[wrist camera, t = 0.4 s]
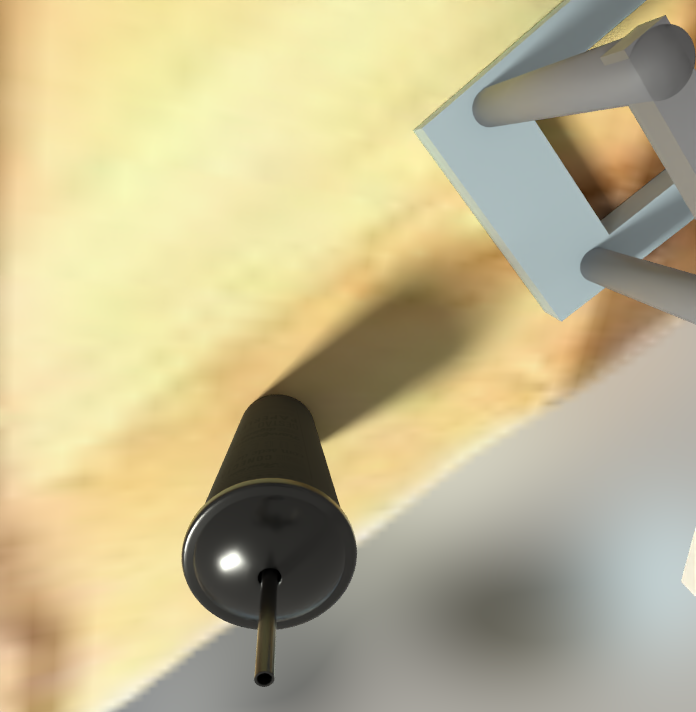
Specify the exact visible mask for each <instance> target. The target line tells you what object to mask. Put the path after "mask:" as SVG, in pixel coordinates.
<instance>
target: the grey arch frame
mask: <svg viewBox="0 0 696 712" xmlns="http://www.w3.org/2000/svg"><path fill="white" fill-rule="evenodd" d="M645 1H646V0H564V1H563V2H561V3H560V4H559V5H558V6H557V7H556V8H555V9H553V10H552V11H551V12H550V13H549V14H548V15H546V16H545V17H544V18H543V19H542V20H541V21H539V22H538V23H537V24H536V25H535V26H534V27H532V28H531V29H530V30H529V31H528V32H527V33H526V34H524V35H523V36H522V37H521V38H520V39H519V40H517V41H516V42H515V43H514V44H513V45H512V46H510V47H509V48H508V49H507V50H506V51H505V52H504V53H502V54H501V55H500V56H499V57H498V58H497V59H495V60H494V61H493V62H492V63H491V64H490V65H488V66H487V67H486V68H485V69H484V70H483V71H481V72H480V73H479V74H478V75H477V76H476V77H475V78H473V79H472V80H471V81H470V82H469V83H468V84H466V85H465V86H464V87H463V88H462V89H461V90H459V91H458V92H457V93H456V94H455V95H454V96H452V97H451V98H450V99H449V100H448V101H447V102H446V103H444V104H443V105H442V106H441V107H440V108H439V109H437V110H436V111H435V112H434V113H433V114H432V115H430V116H429V117H428V118H427V119H426V120H425V121H424V122H422V123H421V124H420V125H419V126H418V127H417V128H415V129H414V130H413V131H414V133H415V134H416V135H417V137H418V138H419V140H420V141H421V142H422V144H423V145H424V146H425V148H426V149H427V151H428V152H429V153H430V155H431V156H432V157H433V159H434V160H435V161H436V163H437V164H438V166H439V167H440V168H441V170H442V171H443V172H444V174H445V175H446V177H447V178H448V179H449V181H450V182H451V183H452V185H453V186H454V188H455V189H456V190H457V192H458V193H459V194H460V196H461V197H462V199H463V200H464V201H465V203H466V204H467V205H468V207H469V208H470V210H471V211H472V212H473V214H474V215H475V216H476V218H477V219H478V221H479V222H480V223H481V225H482V226H483V227H484V229H485V230H486V232H487V233H488V234H489V236H490V237H491V238H492V240H493V241H494V243H495V244H496V245H497V247H498V248H499V249H500V251H501V252H502V254H503V255H504V256H505V258H506V259H507V260H508V262H509V263H510V265H511V266H512V267H513V269H514V270H515V271H516V273H517V274H518V276H519V277H520V278H521V280H522V281H523V282H524V284H525V285H526V287H527V288H528V289H529V291H530V292H531V293H532V295H533V296H534V298H535V299H536V300H537V302H538V303H539V304H540V306H541V307H542V309H543V310H544V311H545V312H546V313H548V314H550V315H551V316H553V317H555V318H556V319H558V320H560V321H561V322H562V321H563V320H564V319H565V318H567V317H568V316H569V315H571V314H572V313H573V312H574V311H576V310H577V309H578V308H580V307H581V306H582V305H583V304H585V303H586V302H587V301H589V300H590V299H591V298H592V297H594V296H595V295H596V294H598V293H599V292H600V291H601V290H603V289H604V288H608V289H610V290H613V291H615V292H617V293H620V294H622V295H625V296H627V297H630V298H632V299H635V300H637V301H639V302H642V303H644V304H647V305H649V306H652V307H654V308H657V309H659V310H662V311H664V312H666V313H669V314H671V315H674V316H676V317H679V318H681V319H684V320H686V321H688V322H691V323H693V324H696V275H695V274H692V273H688V272H685V271H681V270H678V269H674V268H671V267H667V266H664V265H660V264H657V263H653V262H650V261H646V260H643V258H644V257H645V256H647V255H648V254H649V253H650V252H652V251H653V250H654V249H656V248H657V247H658V246H659V245H661V244H662V243H663V242H665V241H666V240H667V239H668V238H670V237H671V236H672V235H674V234H675V233H676V232H677V231H679V230H680V229H681V228H683V227H684V226H685V225H686V224H688V223H689V222H690V221H692V220H693V219H694V218H695V220H696V71H695V69H694V65H695V48H694V44H693V42H692V39H691V38H690V36H689V35H688V33H687V32H686V31H685V30H683V29H682V28H680V27H679V26H676V25H672V24H670V22H669V21H668V19H667V17H666V15H665V16H662V17H659V18H657V19H654V20H652V21H649V22H646V23H644V24H641V25H639V26H637V27H636V28H635V29H634V30H632V31H631V32H630V33H629V34H628V35H626V36H625V37H624V38H621V39H619V40H616V41H613V42H611V43H608V44H605V45H602V46H600V47H597V48H594V49H591V50H589V51H587V50H588V49H589V48H591V47H592V46H593V45H594V44H595V43H597V42H598V41H599V40H600V39H601V38H602V37H604V36H605V35H606V34H607V33H608V32H610V31H611V30H612V29H613V28H614V27H616V26H617V25H618V24H619V23H620V22H621V21H623V20H624V19H625V18H626V17H627V16H629V15H630V14H631V13H632V12H633V11H634V10H636V9H637V8H638V7H639V6H640V5H642V4H643V3H644V2H645ZM623 106H629V108H630V109H631V111H632V113H633V115H634V116H635V118H636V120H637V121H638V123H639V125H640V126H641V128H642V130H643V131H644V133H645V135H646V137H647V138H648V140H649V142H650V143H651V145H652V147H653V148H654V150H655V152H656V154H657V155H658V157H659V159H660V160H661V162H662V164H663V165H664V167H665V170H664V171H662V172H661V173H660V174H659V175H657V176H656V177H655V178H654V179H652V180H651V181H650V182H649V183H647V184H646V185H645V186H644V187H642V188H641V189H640V190H639V191H637V192H636V193H635V194H634V195H632V196H631V197H630V198H628V199H627V200H626V201H625V202H623V203H622V204H621V205H620V206H618V207H617V208H616V209H615V210H613V211H612V212H611V213H610V214H608V215H607V216H606V217H605V218H603V219H602V220H601V221H600V220H599V218H598V217H597V215H596V214H595V212H594V211H593V209H592V208H591V206H590V205H589V203H588V202H587V200H586V198H585V197H584V195H583V194H582V192H581V191H580V189H579V188H578V186H577V185H576V183H575V182H574V180H573V179H572V177H571V175H570V174H569V172H568V171H567V169H566V168H565V166H564V165H563V163H562V162H561V160H560V159H559V157H558V155H557V154H556V152H555V151H554V149H553V148H552V146H551V145H550V143H549V142H548V140H547V139H546V137H545V135H544V134H543V132H542V131H541V129H540V128H539V126H538V125H537V123H536V122H535V120H541V119H547V118H554V117H560V116H566V115H573V114H579V113H585V112H592V111H598V110H604V109H611V108H617V107H623Z"/></svg>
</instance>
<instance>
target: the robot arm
mask: <svg viewBox="0 0 696 712" xmlns="http://www.w3.org/2000/svg"><path fill="white" fill-rule="evenodd" d="M681 582H682V583H683V584H684V585H685V586H686V587H687V588H688V589H689V590H690V591H691V592H692V593H693V595H694V596H695V597H696V528H695V532H694V536H693V539H692V543H691V547H690V550H689V554H688V558H687V561H686V565H685V569H684V572H683V576H682V580H681Z"/></svg>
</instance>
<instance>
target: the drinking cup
mask: <svg viewBox="0 0 696 712" xmlns="http://www.w3.org/2000/svg"><path fill="white" fill-rule="evenodd" d="M356 558H357V547H356V540H355V536H354V532H353V529H352V526H351V524H350V522H349V520H348V518H347V516H346V515H345V513H344V512H343V510H342V509H341V508H340V505H339V502H338V499H337V495H336V492H335V489H334V486H333V482H332V479H331V476H330V473H329V469H328V466H327V463H326V460H325V456H324V453H323V450H322V447H321V443H320V440H319V437H318V433H317V430H316V427H315V424H314V420H313V418H312V415H311V413H310V412H309V410H308V409H307V407H306V406H305V405H304V404H302V403H301V402H300V401H298V400H297V399H294V398H292V397H289V396H285V395H270V396H266V397H263V398H261V399H259V400H257V401H255V402H254V403H253V404H251V405H250V406H249V407H248V409H247V410H246V411H245V413H244V415H243V417H242V419H241V421H240V424H239V426H238V428H237V431H236V433H235V435H234V438H233V440H232V442H231V445H230V447H229V449H228V452H227V454H226V456H225V459H224V461H223V463H222V466H221V468H220V470H219V473H218V475H217V477H216V479H215V482H214V484H213V486H212V489H211V491H210V493H209V496H208V498H207V500H206V503H205V504H204V506H203V507H202V508H201V509H200V510H199V511H198V512H197V514H196V515H195V516H194V518H193V520H192V521H191V523H190V525H189V527H188V530H187V532H186V535H185V538H184V543H183V548H182V567H183V572H184V576H185V579H186V581H187V584H188V586H189V588H190V590H191V591H192V593H193V594H194V596H195V597H196V599H197V600H198V601H199V602H200V603H201V604H202V605H203V606H204V607H205V608H206V609H207V610H208V611H210V612H211V613H212V614H214V615H215V616H217V617H219V618H221V619H222V620H224V621H227V622H229V623H231V624H234V625H237V626H240V627H245V628H250V629H257V630H258V634H257V649H256V663H255V677H254V680H255V683H256V684H257V685H259V686H262V687H265V686H269V685H271V684H272V683H273V682H274V677H275V675H274V674H275V646H276V629H284V628H289V627H293V626H297V625H300V624H303V623H305V622H308V621H310V620H312V619H314V618H316V617H318V616H319V615H321V614H322V613H324V612H325V611H326V610H328V609H329V608H330V607H331V606H332V605H334V604H335V603H336V602H337V601H338V599H339V598H340V597H341V596H342V594H343V593H344V592H345V590H346V589H347V587H348V585H349V583H350V581H351V579H352V577H353V574H354V571H355V566H356Z"/></svg>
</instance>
